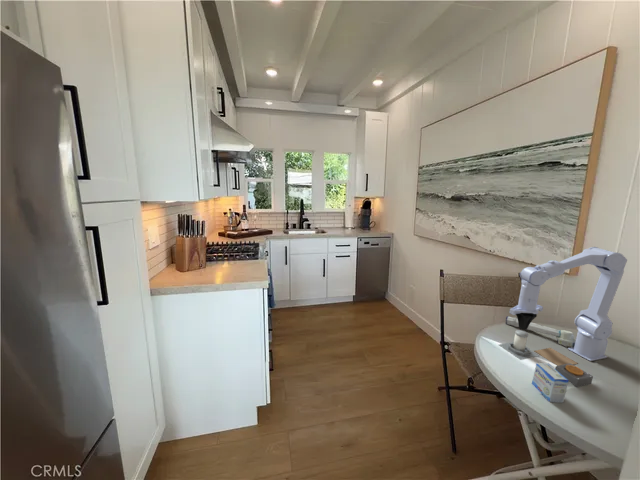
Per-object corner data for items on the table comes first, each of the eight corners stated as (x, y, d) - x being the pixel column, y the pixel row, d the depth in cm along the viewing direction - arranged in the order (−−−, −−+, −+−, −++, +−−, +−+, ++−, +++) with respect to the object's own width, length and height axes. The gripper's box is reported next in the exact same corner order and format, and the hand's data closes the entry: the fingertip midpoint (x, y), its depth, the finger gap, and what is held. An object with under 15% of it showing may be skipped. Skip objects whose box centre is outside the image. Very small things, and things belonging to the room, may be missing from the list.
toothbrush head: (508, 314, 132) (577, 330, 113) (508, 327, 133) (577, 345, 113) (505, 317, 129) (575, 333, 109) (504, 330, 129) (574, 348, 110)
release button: (569, 372, 97) (571, 363, 96) (584, 381, 93) (587, 372, 92) (560, 374, 96) (562, 366, 95) (574, 383, 92) (577, 374, 91)
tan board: (550, 348, 111) (550, 347, 111) (577, 364, 102) (578, 363, 102) (533, 351, 109) (533, 350, 109) (560, 368, 100) (560, 367, 100)
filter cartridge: (517, 346, 112) (520, 329, 110) (527, 352, 108) (530, 334, 106) (509, 347, 111) (512, 330, 109) (519, 354, 107) (522, 336, 105)
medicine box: (530, 384, 92) (535, 362, 90) (544, 384, 92) (548, 362, 90) (549, 402, 84) (554, 379, 82) (563, 403, 84) (569, 379, 82)
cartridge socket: (516, 342, 116) (517, 339, 115) (539, 356, 106) (540, 353, 106) (497, 345, 113) (498, 342, 113) (520, 360, 104) (520, 357, 103)
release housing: (568, 370, 99) (570, 363, 98) (591, 383, 92) (593, 376, 91) (554, 373, 97) (555, 366, 96) (576, 387, 90) (578, 379, 90)
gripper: (523, 303, 99) (517, 336, 102) (553, 299, 102) (546, 331, 105) (506, 296, 106) (501, 326, 109) (535, 292, 109) (529, 322, 112)
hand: (522, 328), depth 107 cm, fingers closed
